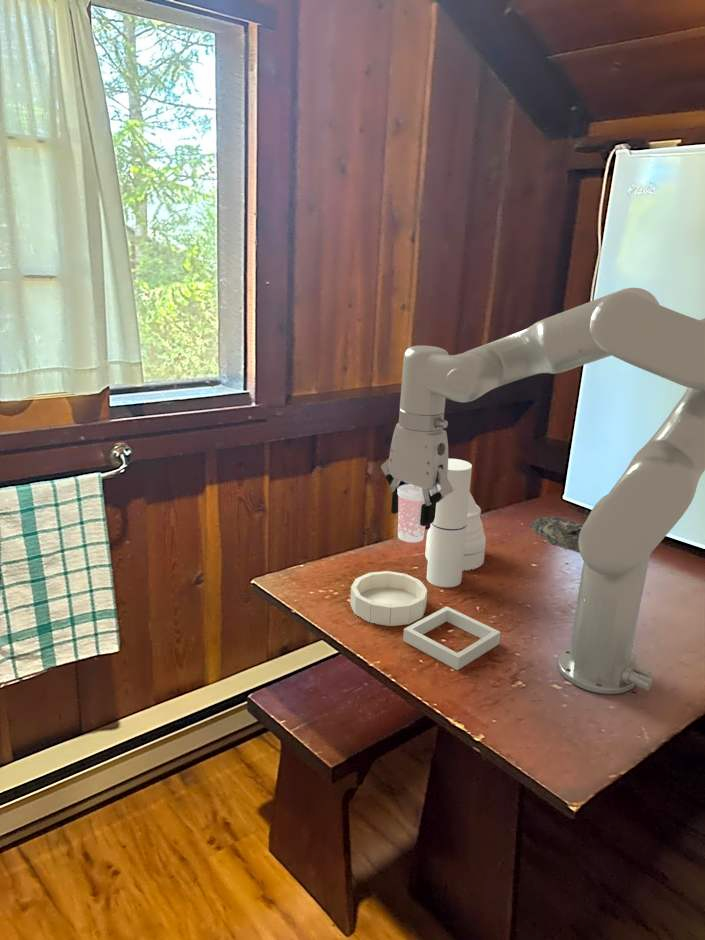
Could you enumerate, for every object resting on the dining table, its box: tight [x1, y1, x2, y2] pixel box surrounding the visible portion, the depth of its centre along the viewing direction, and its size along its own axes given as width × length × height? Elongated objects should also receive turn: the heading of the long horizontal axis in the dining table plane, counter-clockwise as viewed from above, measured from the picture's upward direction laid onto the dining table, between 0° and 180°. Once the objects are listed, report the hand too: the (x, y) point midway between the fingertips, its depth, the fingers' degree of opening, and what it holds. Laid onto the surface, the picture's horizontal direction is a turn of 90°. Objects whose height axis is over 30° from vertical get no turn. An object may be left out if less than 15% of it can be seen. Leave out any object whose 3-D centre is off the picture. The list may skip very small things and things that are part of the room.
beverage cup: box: [397, 483, 432, 543], centre depth 132 cm, size 6×6×14 cm
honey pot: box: [424, 492, 487, 572], centre depth 162 cm, size 13×13×18 cm
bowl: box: [349, 570, 428, 627], centre depth 143 cm, size 14×14×4 cm
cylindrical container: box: [426, 458, 473, 588], centre depth 151 cm, size 7×7×25 cm
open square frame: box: [402, 606, 502, 671], centre depth 132 cm, size 12×12×2 cm
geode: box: [529, 515, 584, 554], centre depth 178 cm, size 19×4×15 cm
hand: (412, 516), depth 134 cm, fingers closed on beverage cup, 6 cm apart
